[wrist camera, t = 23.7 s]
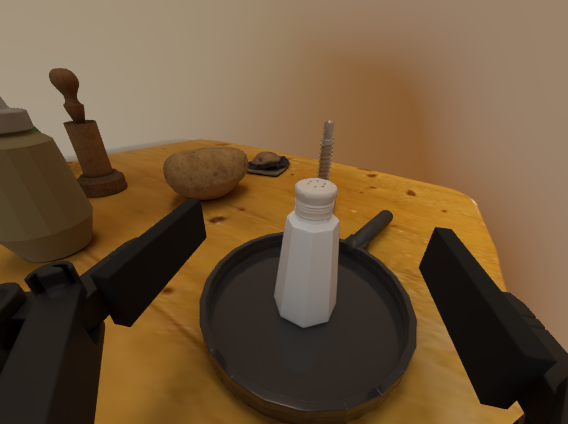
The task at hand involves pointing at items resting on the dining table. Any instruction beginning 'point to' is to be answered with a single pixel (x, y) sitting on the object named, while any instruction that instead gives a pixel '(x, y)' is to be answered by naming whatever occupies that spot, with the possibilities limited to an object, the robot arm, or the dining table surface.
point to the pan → (307, 337)
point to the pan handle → (367, 233)
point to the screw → (326, 151)
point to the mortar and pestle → (86, 141)
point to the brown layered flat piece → (268, 164)
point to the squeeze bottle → (38, 194)
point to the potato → (205, 172)
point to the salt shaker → (309, 255)
